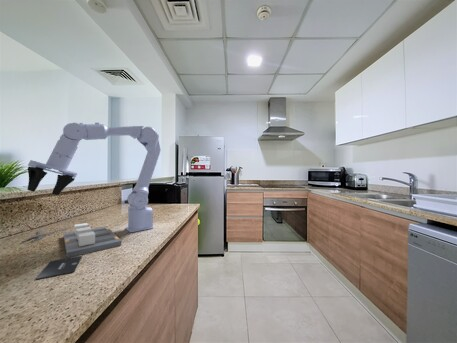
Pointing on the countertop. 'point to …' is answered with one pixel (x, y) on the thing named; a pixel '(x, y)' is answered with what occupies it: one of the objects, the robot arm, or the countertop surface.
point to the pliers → (40, 235)
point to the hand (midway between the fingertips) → (43, 192)
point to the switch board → (102, 241)
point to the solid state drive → (59, 267)
